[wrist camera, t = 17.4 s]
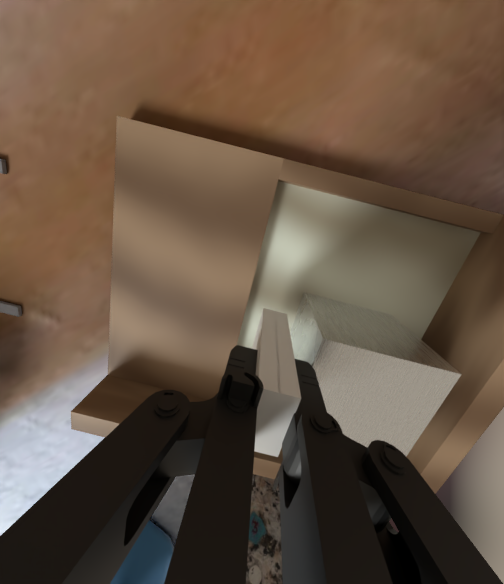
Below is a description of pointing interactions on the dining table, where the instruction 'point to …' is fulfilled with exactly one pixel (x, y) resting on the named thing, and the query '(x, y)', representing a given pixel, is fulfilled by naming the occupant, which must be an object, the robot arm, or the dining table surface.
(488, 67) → the dining table surface
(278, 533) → the rock
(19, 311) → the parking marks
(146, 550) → the wine bottle
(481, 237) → the wooden shallow box
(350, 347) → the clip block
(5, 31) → the dining table surface
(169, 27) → the dining table surface
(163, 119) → the dining table surface
